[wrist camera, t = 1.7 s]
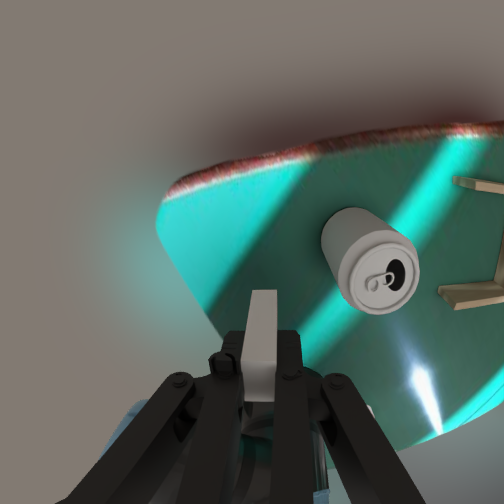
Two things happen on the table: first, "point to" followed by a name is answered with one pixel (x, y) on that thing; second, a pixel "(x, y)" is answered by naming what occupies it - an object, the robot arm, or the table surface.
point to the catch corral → (477, 292)
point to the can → (370, 261)
